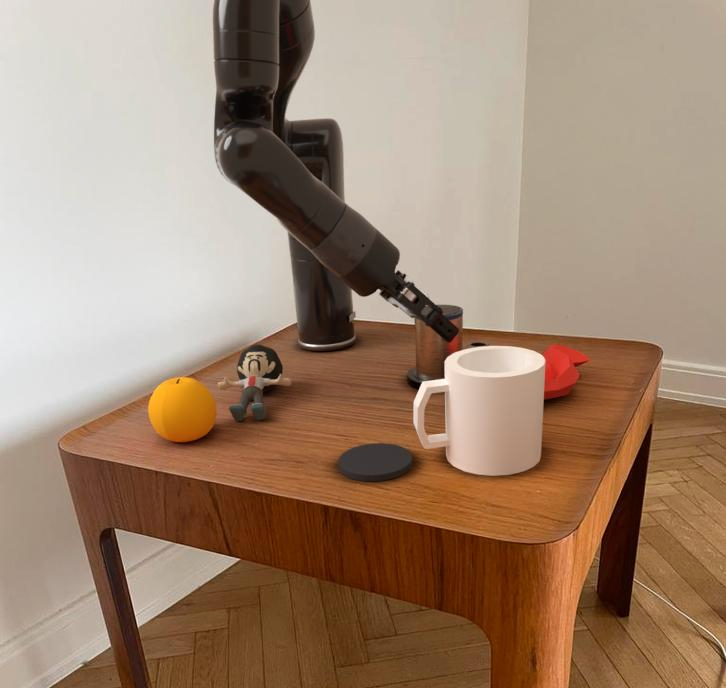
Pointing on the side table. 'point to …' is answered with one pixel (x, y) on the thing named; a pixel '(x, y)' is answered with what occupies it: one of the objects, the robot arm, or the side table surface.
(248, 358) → the figurine
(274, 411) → the side table surface
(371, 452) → the trivet
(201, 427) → the orange
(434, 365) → the pot
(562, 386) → the animal figurine
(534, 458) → the mug
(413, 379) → the disc
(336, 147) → the robot arm
